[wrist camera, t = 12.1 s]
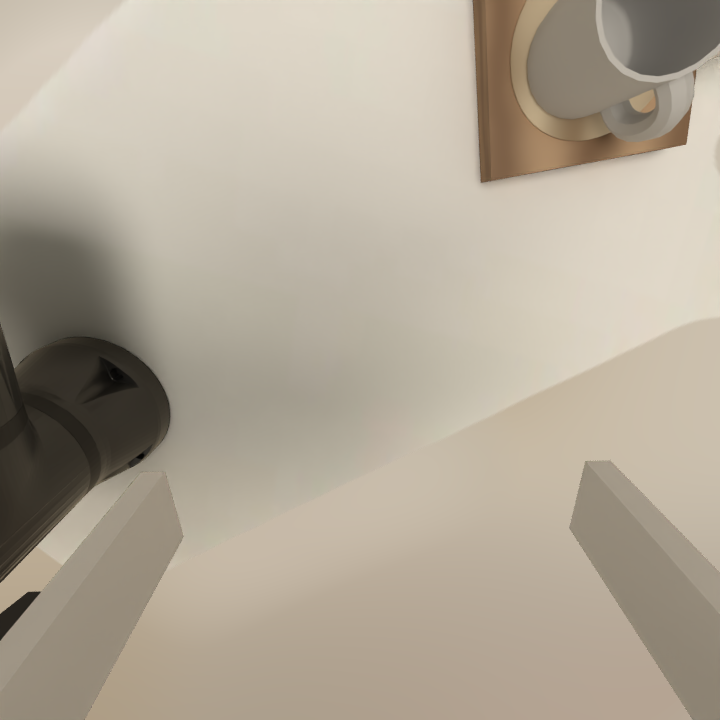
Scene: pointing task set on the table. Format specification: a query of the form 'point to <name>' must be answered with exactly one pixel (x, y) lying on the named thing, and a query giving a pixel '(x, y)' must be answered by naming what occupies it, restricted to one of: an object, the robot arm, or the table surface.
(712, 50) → the cup
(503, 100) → the pedestal
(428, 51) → the table surface
